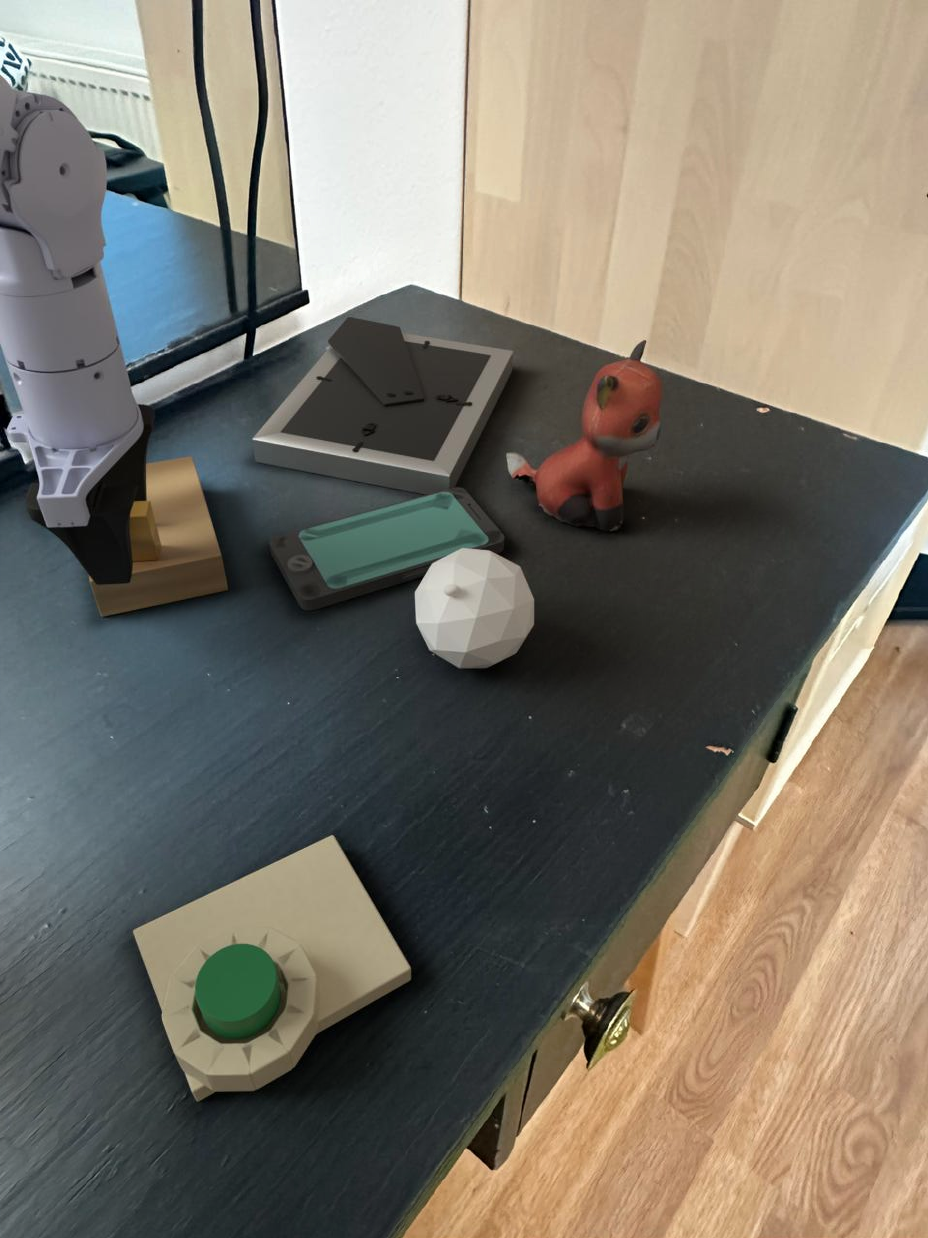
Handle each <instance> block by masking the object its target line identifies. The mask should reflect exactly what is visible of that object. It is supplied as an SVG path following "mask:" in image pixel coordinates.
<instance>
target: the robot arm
mask: <svg viewBox="0 0 928 1238" xmlns="http://www.w3.org/2000/svg"><path fill="white" fill-rule="evenodd" d="M107 185H108V169H107V160H106V154H105V151H104V150H103V149H99V150H98V148H97V147H96V145H95V142H94V140H93V138H92V136H91V135H90V133H89V130H88V129H87V128H86V127H85V125H84V124H83V123H82V122H81V121H80V120H79V118H78V116H76V114H75V113H74V112H73V110H71V109H70V108H69V107H68V106H67V105H65V104H64V103H63V102H62V101H61V100H59V99H57V98H55V97H54V96H50V95H47V94H41V93H35V92H30V91H25V90H19V89H13V87H12V85H11V84H10V83H9V82H8V81H7V79H5V77H3V76H2V75H1V74H0V347H1V351H2V353H3V356H4V361H5V363H6V365H7V369H8V371H9V375H10V377H11V380H12V383H13V385H14V388H15V391H16V395H17V397H18V400H19V403H20V406H21V409H22V412H21V413H16V414H15V415H13V417H12V418H11V419H10V422H9V423H8V426H7V428H6V432H7V435H8V437H9V441H11V442H12V443H25V444H28V445H29V447H30V450H31V454H32V458H33V462H34V465H35V469H36V472H37V476H38V481H39V482H32V483H31V484H30V486H29V488H28V491H27V494H26V496H25V498H24V505H25V508H26V511H27V513H28V516H29V517H30V520H32V521H33V522H34V523H37V524H38V525H40V526H41V527H43V528H45V529H46V530H48V532H50V533H51V534H53V535H54V536H55V537H56V538H58V539H59V540H60V541H61V542H62V543H63V544H64V545H65V546H66V547H67V548H68V550H69V551H70V552H71V553H72V554H73V555H74V557H75V558H76V560H77V561H78V562H79V563H80V566H82V568H83V569H84V571H85V572H86V573H87V575H88V577H89V576H90V577H91V578H92V580H93V581H94V582H95V583H96V584H97V585H106V584H126V583H130V581H131V577H132V570H133V559H132V549H131V541H130V513H131V509H132V506H133V503H134V501H147V491H146V464H147V457H148V456H147V455H148V446H149V440H150V437H151V433H152V431H153V428H154V424H155V419H156V414H155V413H156V412H155V409H154V408H153V407H152V406H150V405H148V404H140V403H139V404H138V402H137V400H136V398H135V396H134V394H133V390H132V386H131V381H130V377H129V373H128V369H127V365H126V361H125V358H124V353H123V348H122V345H121V341H120V337H119V333H118V329H117V328H118V327H117V324H116V320H115V315H114V312H113V307H112V304H111V299H110V295H109V291H108V287H107V284H106V279H105V275H104V271H103V267H102V262H101V261H103V259H104V258H105V252H104V248H105V247H106V246H107V243H106V239H105V238H106V237H105V233H104V230H103V224H102V211H103V205H104V202H105V198H106V192H107Z"/></svg>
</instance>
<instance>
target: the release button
mask: <svg viewBox="0 0 928 1238" xmlns="http://www.w3.org/2000/svg"><path fill="white" fill-rule="evenodd" d="M195 995H196V1000H197V1003H198V1005H199V1008H200V1010H201V1013H202V1015H203V1018H204V1020H205V1022H206V1024H207V1026H208V1027H209V1028H210V1029H211V1030H212V1031H213V1032H214V1033H215V1034H217V1035H218V1036H220V1037H223V1038H226V1039H234V1040H237V1039H244V1038H248V1037H251V1036H253V1035H255V1034H257V1033H259V1032H260V1031H262V1030H263V1029H264V1028H265V1027H267V1026H268V1024H269V1023H270V1022H271V1021H272V1020H273V1018H274V1017H275V1015H276V1013H277V1011H278V1009H279V1006H280V1001H281V988H280V983H279V979H278V975H277V971H276V967H275V964H274V962H273V960H272V958H271V957H270V956H269V954H268V953H267V952H266V951H264V950H263V949H261V948H259V947H257V946H254V945H251V944H234V945H230V946H227V947H224V948H222V949H220V950H219V951H217V952H216V953H214V954H213V955H212V956H211V957H209V958H208V960H207V961H206V962H205V963H204V964H203V966H202V967H201V969H200V971H199V973H198V976H197V979H196V983H195Z"/></svg>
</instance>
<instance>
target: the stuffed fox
mask: <svg viewBox="0 0 928 1238" xmlns="http://www.w3.org/2000/svg"><path fill="white" fill-rule="evenodd" d="M646 345H647V340H646V339H643V340H642V341H640V342H639V343H637V344H636V346H635V347H634V348H633V350H632V351H631V353H630V355H629V357H628V358H627V359H623V360H618V361H614V362H612V363H607V364H606V365H603V366H602V368H600V369H599V370H598V372H597V373H596V375H595V377H594V379H592V380H593V381H592V383H591V385H590V387H589V389H588V392H587V394H586V397H585V400H584V403H583V406H582V411H581V430H582V432H583V436H582V437H580V438H579V439H578V440H577V441H576V442H573V443H571V444H569V445H567V446H565V447H563V448H562V449H560V450H557V451H556V452H554V453H552V454H551V455H550V456H548V457H547V458H546V459H545V460H544V461H543V462H542V463H541V464H540V465H539V467H538V468H534V467H533V466H532V465H531V463H530V462H529V460H528V459H527V458H526V457H525V456H523V455H522V454H521V453H519V452H517V451H512V452H511V451H510V452H506V462H507V470H508V473H509V475H510V477H511V478H512V479H513V480H517V479H518V481H522V482H524V483H525V484H529V485H532V486H536V487H535V488H536V499H537V500H538V506H539V507H541V508H542V509H543V512H544V513H546V514H548V515H549V516H550V517H554V518H555V519H557V520H558V521H560V522H561V523H567V524H569V525H571V526H574V527H580V526H581V527H589V528H592V527H596V529H599V530H601V531H603V532H613V531H618V530H620V529H622V526H623V522H624V512H623V511H624V501H623V485H624V483H625V480H626V476H627V472H628V470H629V469H628V467H629V464H628V462H629V461H628V460H629V458H630V456H631V455H632V454H634V453H639V452H645V451H648V450H650V449H652V448H653V447H655V446H656V444H657V443H658V440H659V437H660V433H661V425H662V424H661V417H660V406H661V402H662V395H663V388H662V381H661V379H660V377H659V375H658V374H657V372H655V370H653V368H651V367H650V366H648V365H646V364H645V363H643V362H642V361H641V359H642V358H643V355H644V352H645V349H646Z"/></svg>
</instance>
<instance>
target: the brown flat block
mask: <svg viewBox="0 0 928 1238" xmlns="http://www.w3.org/2000/svg"><path fill="white" fill-rule="evenodd" d="M146 491H147V501H150V502H151V506H152V510H153V514H154V518H155V522H156V526H157V530H158V534H159V538H160V542H161V548H160V552H159V557H158V560H148V561H133V570H132V577H131V581H130V583H126V584H106V585H97V584H96V583H95V582H94V581H93V580H92V578H91V577H90V576H89V575H88V580H89V584H90V588H91V590H92V593H93V596H94V599H95V602H96V606H97V608H98V611H99V615H100V616H101V618H103V617H108V616H112V615H117V614H122V613H127V612H131V611H136V610H142V609H147V608H151V607H155V606H160V605H164V604H169V603H175V602H180V601H183V600H187V599H193V598H198V597H202V596H207V595H211V594H217V593H221V592H225V591H226V592H227V591H229V587H228V586H229V585H228V581H227V575H226V570H225V565H224V561H223V556H222V552H221V549H220V546H219V542H218V539H217V534H216V532H215V529H214V526H213V521H212V518H211V515H210V511H209V507H208V505H207V501H206V497H205V494H204V490H203V487H202V484H201V480H200V477H199V474H198V469H197V467H196V463H195V459H194V457H193V456H192V455H191V456H190V455H189V456H185V457H178V458H172V459H171V458H170V459H165V460H160V461H154V462H148V463H146Z"/></svg>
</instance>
